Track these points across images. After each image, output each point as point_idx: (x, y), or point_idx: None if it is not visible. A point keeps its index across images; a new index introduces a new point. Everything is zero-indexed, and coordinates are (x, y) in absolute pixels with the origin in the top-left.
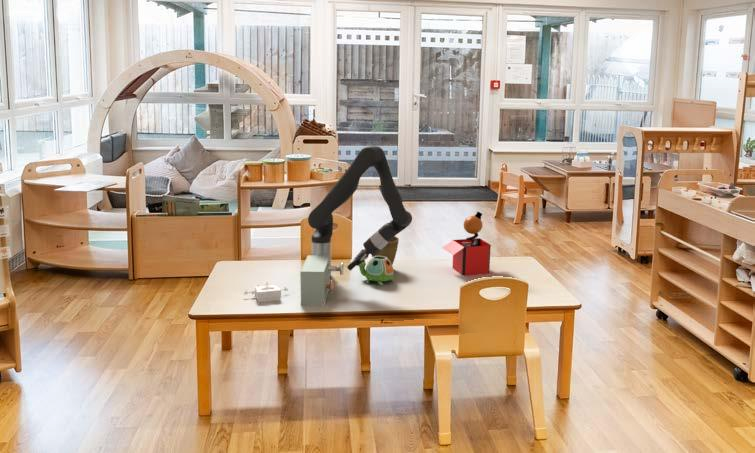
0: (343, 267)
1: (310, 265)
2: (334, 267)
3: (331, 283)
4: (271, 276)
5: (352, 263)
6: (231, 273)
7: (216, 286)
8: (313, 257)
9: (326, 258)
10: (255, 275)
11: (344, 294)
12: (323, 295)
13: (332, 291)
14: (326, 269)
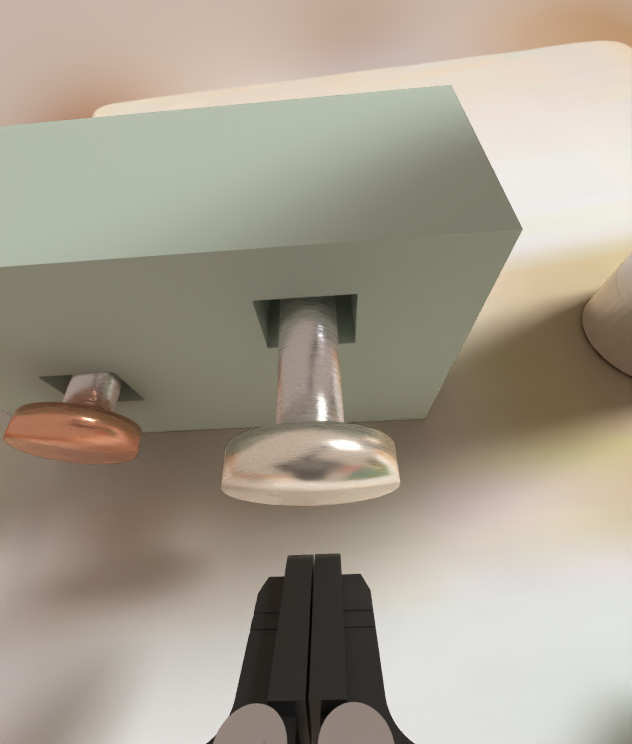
0: (376, 487)
1: (72, 153)
2: (282, 376)
3: (9, 425)
4: (512, 159)
5: (267, 689)
6: (494, 75)
7: (341, 82)
8: (377, 124)
9: (360, 220)
10: (501, 121)
11: (267, 548)
12: (5, 407)
13: (58, 458)
14: (94, 306)
